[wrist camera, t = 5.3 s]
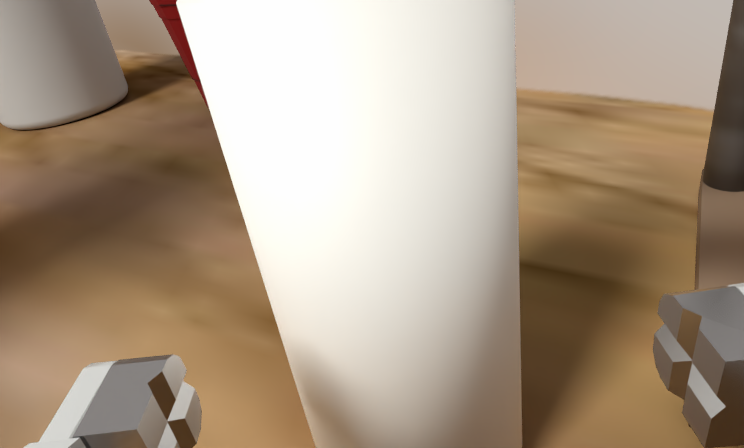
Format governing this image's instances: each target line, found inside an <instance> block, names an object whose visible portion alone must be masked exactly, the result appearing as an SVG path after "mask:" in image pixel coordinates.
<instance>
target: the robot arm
mask: <svg viewBox="0 0 744 448" xmlns="http://www.w3.org/2000/svg"><path fill="white" fill-rule="evenodd" d="M658 315H659V316H660V318H661V319H662V320H663V322H664V323H665V324H664V325H663V326H662V327H661V328H660V329H659V330H658V331H657V332H656V333H655V334H654V344H653V353H654V359H655V364H656V368H657V370H658V373H659V375H660V378H661V379H662V381H663V383H664V384H665V386H666V388H667V389H668V391H670V392H672V393H673V394H675V395H677V396H678V397H680V398H682V399H683V400H684V405H683V410H682V414H683V415H684V417H685V418H686V420H687V421H688V423H689V425H690V426H691V428H692V429H693V431H694V433H695V434H696V436H697V437H698V439H699V440H700V442H701V444H702V445H703V447H704V448H714V447H727V446H740V445H744V283H739V284H732V285H728V286H721V287H713V288H706V289H698V290H690V291H683V292H675V293H667V294H664V295H663V296H662V298H661V300H660V302H659V308H658ZM186 371H187V370H186V368H185V366H184V364H183V362H182V360H181V358H180V357H179V356H176V355H164V356H153V357H143V358H133V359H123V360H118V361H109V362H99V363H91V364H90V365H88V366H86V367H85V368H83V370H82V371H81V373H80V375H79V376H78V378H77V380H76V381H75V383H74V384H73V386H72V388H71V389H70V391H69V393H68V394H67V396H66V398H65V399H64V401H63V403H62V404H61V406H60V408H59V409H58V411H57V412H56V414H55V416H54V417H53V419H52V421H51V422H50V424H49V426H48V427H47V429H46V431H45V432H44V434H43V435H42V437H41V439H40V440H39V442H36V443H29V444H28V445H26V446H25V447H24V448H193V447H194V446H195V445H196V444H197V440H198V437H199V433H200V430H201V415H202V410H201V405H200V400H199V397H198V395H197V392H196V390H195V388H193V387H192V386H190V385H188V384H187V383H185V382H184V381H183V379H184V377H185V374H186Z"/></svg>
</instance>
